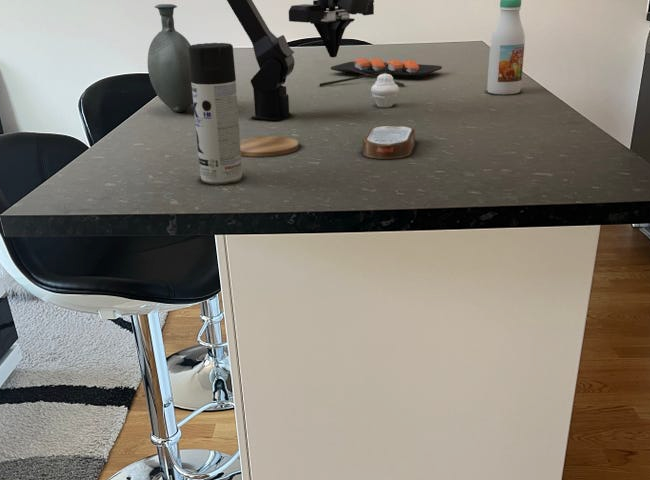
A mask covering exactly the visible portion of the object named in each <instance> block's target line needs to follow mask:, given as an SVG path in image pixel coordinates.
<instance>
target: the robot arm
mask: <svg viewBox="0 0 650 480" xmlns="http://www.w3.org/2000/svg"><path fill="white" fill-rule="evenodd" d="M226 2H227V3H228V5H229V6H230V8H231V10H232V11H233V13H234V15H235V16H236V18H237V20H238V22H239V24H240V25H241V27H242V29H243V30H244V32H245V34H246V36H247V37H248V39H249V40H250V42H251V45H252V48H253V51H254V52H253V53H254V56H255V59H256V63H257V65H258V67H259V70H258V71H257V72H256V74H255V75H253V77H252V78H251V79H250V84H251V86H252V89H253V91H252V92H253V105H254V115H251V116H250V119H251V120H263V121H273V122H274V121H280V120H283V119H285V118H287V117H290V116H292V112H290V102H289V100H290V97H289V94H288V93H287V86H286V85H285V83H286V80H287V77H288V76H290V75H291V73H292V72H293V71H294V68H295V63H296V61H295V57H294V55H293V54H295V51H294V50H293V49H292V48H291V47H290V45H289V44H288V41H287V38H286V37H285V35H284V34H282V35H279V36H278V37H277V36H276V35H275V34H274V33H273V32H272V31H271V30H270V28H269V26H268V24H267V23H266V21H265V20H264V18H263V16H262V15H261V13H260V12H259V9H258V7H257V6H256V5H255V3H254V1H253V0H226ZM357 14H359V15H362V16H371V15H374V14H375V0H312V4H307V3H306V4H305V3H304V4H294V5H290V7H289V9H288V22H292V23H293V22H294V23H309V24H311V25H313V26H314V27H315V30H316V31H317V33H318V35H319V37H320V38H321V41H322V42H323V45H324V47H325V49H326V51H327V54H328V56H329V58H337V56H338V53H339V49H340V45H341V43H342V40H343V36H344V33H345V30H346V29H347V27H348V26H349V25H350V24H351V23H353V22H354V21H355V18H351V15H357ZM283 85H285V86H283Z"/></svg>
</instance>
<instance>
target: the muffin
mask: <svg viewBox="0 0 650 480" xmlns="http://www.w3.org/2000/svg"><path fill="white" fill-rule="evenodd" d="M394 81H395V80H394V78H393V77H392V76H391V75H390V74H386V73H384V74H381V75H379V76H378V77H377V78H376V81H375V82H374V84H373V85H372V86H371V88H370V92H371V96H372V98H373V100H374V102H375V104H376V106H377V107H379V108H391V107H393V105H394V103H395V101H396V98H397V97H398V93H399V92H400V87H399V85H397V84H395V82H394Z"/></svg>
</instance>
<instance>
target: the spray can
mask: <svg viewBox="0 0 650 480" xmlns="http://www.w3.org/2000/svg"><path fill="white" fill-rule="evenodd" d="M190 45H191V46H189V59H190V72H191V83H192V94H193V104H192V105H193V113H194V123H195V133H196V143H197V144H196V146H197V155H198V164H199V165H198V166H199V174H200V180H201V181H202V182H203V183H205V184H209V185H229V184H233V183H237V182H238V181H240V180H241V179H243V165H242V155H241V148H240V140H241V137H240V136H241V135H240V123H239V108H238V94H237V78H236V68H235V67H236V65H235V57H234V56H235V55H234V46H233V44H232V43H228V42H211V43H209V42H205V43H195V44H190Z"/></svg>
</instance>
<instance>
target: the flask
mask: <svg viewBox="0 0 650 480" xmlns="http://www.w3.org/2000/svg"><path fill="white" fill-rule="evenodd" d="M154 8H155V9H157V10H158V13H159V16H160V20H161V21H160V22H161V30H160V31H159V32H158V33H157V34H156V35H155V36H154V37H153V39H152V40H151V41H150V44H149V48H148V53H147V72H148V77H149V81H150V84H151V86H152V88H153V91H154V92H155V94H156V95H157V97H158V98H159V99H160V101H161V102H162V103H163V104H164V105H165V106H166V107H168V108H169V109H170V110H173V111H175V112H177V113H178V112H179V113H181V112H186V111H188V110H189V109H190V108H191V107H192V106H193V105H194V104H193V94H192V83H191V72H190V59H189V46H191V45H192V44H191V43H190V42H189V40H188V39H187V38H186V37H185V36H184V35H183V34H181V33H180V32H178V30H176V29H175V20H174V10H175V8H178V6H177V5H176V4H171V3H162V4H161V3H159V4H156V5H154Z"/></svg>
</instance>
